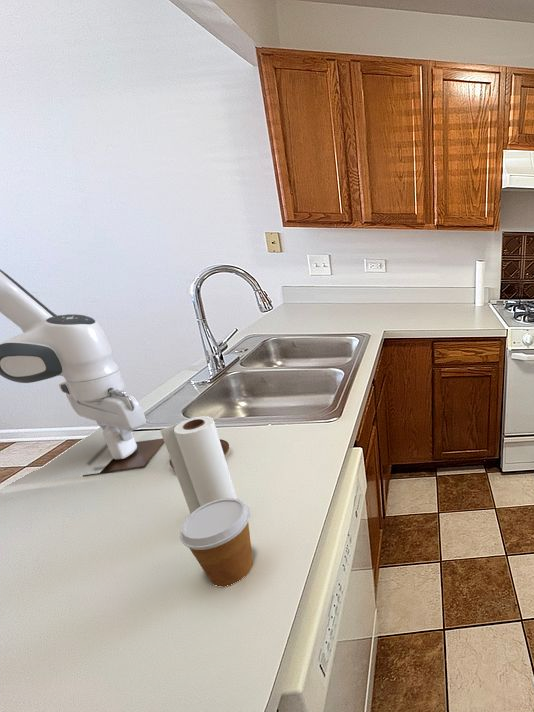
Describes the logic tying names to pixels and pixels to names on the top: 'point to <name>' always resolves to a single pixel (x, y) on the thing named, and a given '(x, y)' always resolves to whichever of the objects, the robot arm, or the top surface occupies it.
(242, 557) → the disposable coffee cup
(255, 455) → the top surface
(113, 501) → the top surface
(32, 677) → the top surface
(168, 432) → the paper towel roll
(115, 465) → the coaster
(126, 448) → the eye dropper bottle
